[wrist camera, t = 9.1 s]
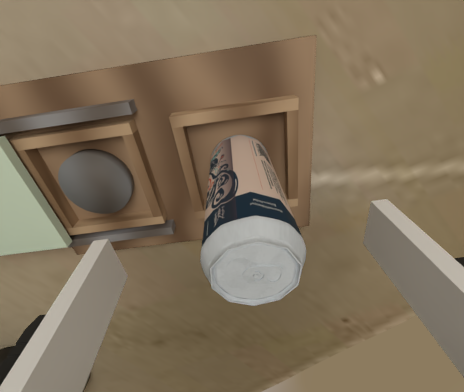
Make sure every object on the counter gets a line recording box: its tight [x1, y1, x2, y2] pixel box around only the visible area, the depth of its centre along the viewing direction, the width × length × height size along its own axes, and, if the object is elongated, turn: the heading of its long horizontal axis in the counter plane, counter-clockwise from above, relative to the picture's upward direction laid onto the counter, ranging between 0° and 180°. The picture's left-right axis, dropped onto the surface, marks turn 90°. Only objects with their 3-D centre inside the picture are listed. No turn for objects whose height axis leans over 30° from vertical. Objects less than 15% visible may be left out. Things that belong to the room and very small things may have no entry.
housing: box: [0, 35, 316, 256], centre depth 21 cm, size 32×16×3 cm, turn 98°
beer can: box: [200, 135, 306, 306], centre depth 15 cm, size 5×5×12 cm
